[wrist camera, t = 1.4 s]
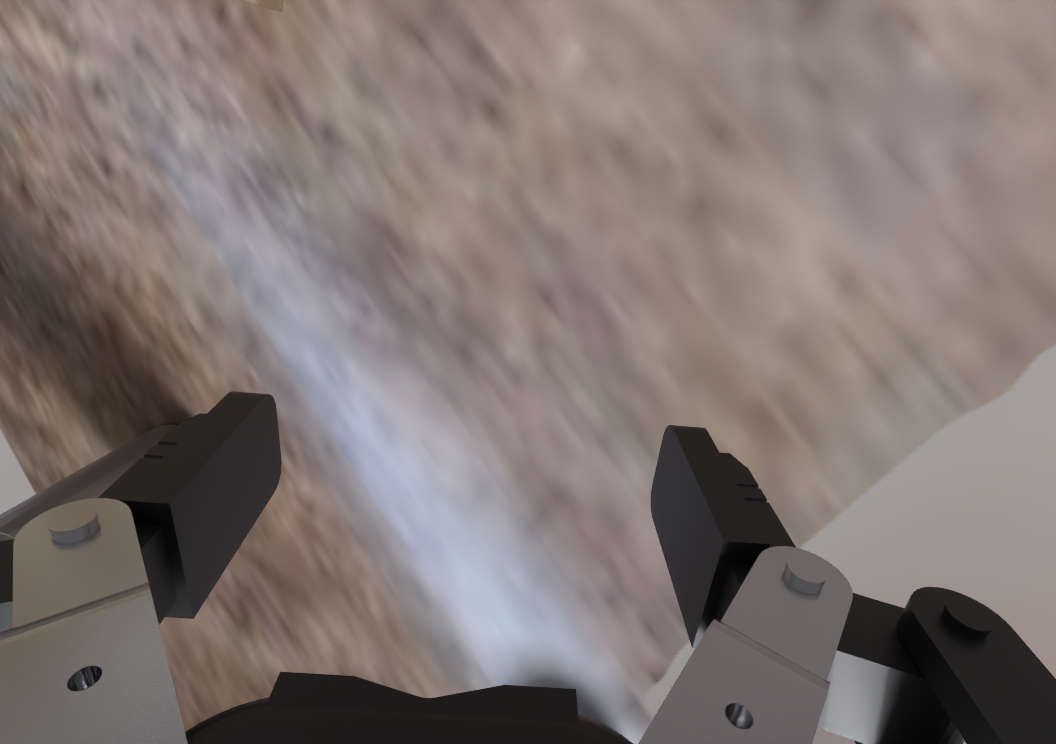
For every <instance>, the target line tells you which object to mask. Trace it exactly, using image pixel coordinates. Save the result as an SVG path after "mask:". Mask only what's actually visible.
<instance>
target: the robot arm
mask: <svg viewBox="0 0 1056 744" xmlns="http://www.w3.org/2000/svg"><path fill="white" fill-rule="evenodd" d="M280 474H281V451H280V441H279V431H278V422H277V412H276V404H275V400H274V398H273V397H272V396H271V395H269V394H258V393H245V392H229V393H228V394H227V395H226V396H225V397H224V398H223V399H222V400H221V401H220V402H219V403H218V404H217V405H216V406H215V407H214V408H213V409H212V410H210V411H209V412H208V413H207V414H198V415H196V416H194V417H192V418H190V419H188V420H186V421H184V422H182V423H180V424H178V425H172V424H169V425H161V426H158V427H156V428H153V429H151V430H150V431H148V432H146V433H144V434H142V435H141V436H139V437H137V438H135V439H134V440H132V441H130V442H128V443H126V444H125V445H123V446H121V447H119V448H118V449H116V450H114V451H112V452H110V453H108V454H107V455H105V456H103V457H101V458H100V459H98V460H96V461H94V462H93V463H91V464H89V465H87V466H85V467H84V468H82V469H80V470H78V471H77V472H75V473H73V474H71V475H70V476H68V477H66V478H64V479H63V480H61V481H59V482H57V483H55V484H54V485H52V486H50V487H48V488H47V489H45V490H43V491H41V492H40V493H38V494H36V495H34V496H33V497H31V498H29V499H27V500H26V501H24V502H22V503H20V504H18V505H17V506H15V507H13V508H11V509H10V510H8V511H6V512H4V513H3V514H1V515H0V744H633V743H632V742H630V741H629V740H628V739H626V738H625V737H624V736H622V735H621V734H619V733H617V732H616V731H614V730H612V729H611V728H609V727H607V726H606V725H603V724H601V723H599V722H597V721H595V720H592V719H590V718H587V717H584V716H581V715H578V710H577V698H576V689H563V688H546V687H529V686H512V685H502V686H496V687H491V688H485V689H480V690H475V691H469V692H464V693H458V694H453V695H447V696H442V697H436V698H422V697H418V696H415V695H412V694H408V693H405V692H402V691H399V690H396V689H393V688H390V687H386V686H383V685H380V684H377V683H374V682H371V681H368V680H364V679H361V678H358V677H355V676H342V675H325V674H308V673H291V672H280V674H279V676H278V678H277V681H276V683H275V685H274V688H273V690H272V693H271V695H270V697H269V698H264V699H259V700H256V701H252V702H249V703H246V704H242V705H239V706H236V707H234V708H231V709H229V710H226V711H224V712H221V713H219V714H217V715H215V716H213V717H211V718H209V719H207V720H205V721H203V722H201V723H199V724H197V725H196V726H194V727H193V728H191V729H189V730H188V731H186V732H185V730H184V726H183V722H182V718H181V714H180V710H179V706H178V702H177V698H176V693H175V689H174V685H173V681H172V677H171V673H170V669H169V665H168V660H167V656H166V652H165V648H164V644H163V640H162V636H161V632H160V627H159V624H160V623H161V622H162V620H163V619H164V617H174V618H190V619H194V617H195V615H196V614H197V612H198V611H199V609H200V608H201V606H202V604H203V603H204V601H205V600H206V598H207V597H208V595H209V594H210V592H211V590H212V589H213V587H214V586H215V584H216V583H217V581H218V579H219V578H220V576H221V575H222V573H223V572H224V570H225V569H226V567H227V565H228V564H229V562H230V561H231V559H232V558H233V556H234V554H235V553H236V551H237V550H238V548H239V547H240V545H241V543H242V542H243V540H244V539H245V537H246V536H247V534H248V533H249V531H250V529H251V528H252V526H253V525H254V523H255V522H256V520H257V518H258V517H259V515H260V514H261V512H262V511H263V509H264V508H265V506H266V504H267V503H268V501H269V500H270V498H271V497H272V495H273V493H274V492H275V490H276V488H277V485H278V482H279V479H280ZM651 513H652V518H653V521H654V524H655V528H656V531H657V534H658V537H659V541H660V544H661V547H662V551H663V554H664V557H665V560H666V564H667V567H668V570H669V573H670V577H671V580H672V583H673V587H674V590H675V593H676V596H677V600H678V603H679V606H680V610H681V613H682V616H683V619H684V623H685V626H686V629H687V632H688V636H689V639H690V642H691V645H692V648H696V649H695V650H694V652H693V654H692V655H691V657H690V659H689V660H688V662H687V664H686V665H685V667H684V669H683V670H682V672H681V674H680V675H679V677H678V679H677V680H676V682H675V684H674V685H673V687H672V689H671V690H670V692H669V694H668V695H667V697H666V699H665V700H664V702H663V704H662V705H661V707H660V709H659V710H658V712H657V714H656V715H655V717H654V719H653V720H652V722H651V724H650V725H649V727H648V728H647V730H646V732H645V733H644V735H643V737H642V738H641V740H640V742H639V743H638V744H812V742H813V739H814V736H815V732H816V729H817V727H818V728H821V729H824V730H827V731H829V732H832V733H835V734H838V735H841V736H843V737H846V738H849V739H852V740H854V741H855V743H856V744H963V742H964V741H965V742H966V743H967V744H1056V679H1055V678H1054V677H1053V675H1052V674H1051V673H1050V672H1049V671H1048V669H1046V667H1045V666H1044V665H1043V664H1042V663H1041V661H1040V660H1039V659H1038V658H1037V657H1036V655H1035V654H1034V653H1033V652H1032V651H1031V650H1030V648H1029V647H1028V646H1027V645H1026V644H1025V643H1024V642H1023V640H1022V639H1021V638H1020V637H1019V636H1018V635H1017V633H1016V632H1015V631H1014V630H1013V629H1012V628H1011V626H1009V624H1008V623H1007V622H1006V621H1004V620H1003V619H1002V618H1001V617H1000V616H999V615H998V614H996V613H995V612H993V611H992V610H991V609H989V608H988V607H986V606H985V605H983V604H981V603H979V602H978V601H976V600H974V599H972V598H970V597H967V596H965V595H963V594H960V593H958V592H955V591H952V590H948V589H944V588H938V587H924V588H920V589H917V590H916V591H915V592H913V594H912V595H911V597H910V599H909V601H908V603H907V605H906V607H905V608H901V607H898V606H895V605H891V604H888V603H884V602H881V601H878V600H874V599H871V598H868V597H864V596H861V595H858V594H855V593H852V589H851V586H850V584H849V582H848V581H847V579H846V578H845V577H844V575H843V574H842V573H841V572H840V571H839V570H838V569H837V568H836V567H834V566H833V565H832V564H830V563H829V562H828V561H826V560H824V559H823V558H821V557H819V556H817V555H815V554H813V553H811V552H808V551H806V550H802V549H799V548H796V547H795V545H794V543H793V542H792V540H791V538H790V537H789V535H788V533H787V532H786V530H785V529H784V527H783V525H782V524H781V522H780V520H779V519H778V517H777V515H776V514H775V512H774V510H773V509H772V507H771V505H770V504H769V503H767V499H766V497H765V496H764V494H763V492H762V491H761V489H758V484H757V482H756V481H755V479H754V477H753V476H752V474H751V472H750V471H749V469H748V468H747V467H746V466H744V465H743V464H742V463H741V462H739V461H738V460H737V459H736V458H735V457H733V456H732V455H731V454H730V453H719V451H718V449H717V447H716V446H715V444H714V442H713V440H712V438H711V437H710V435H709V433H708V431H707V430H706V429H705V428H699V427H687V426H674V425H669V426H667V428H666V429H665V432H664V435H663V439H662V444H661V448H660V453H659V457H658V462H657V466H656V471H655V476H654V480H653V485H652V490H651Z"/></svg>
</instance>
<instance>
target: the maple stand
mask: <svg viewBox="0 0 1056 744" xmlns="http://www.w3.org/2000/svg"><path fill="white" fill-rule="evenodd" d="M245 1H248V2H251V3H254V4H257V5H260V6H264V7H267V8H270V9H273V10H276V11H279V12H281V11H282V3H283V0H245Z"/></svg>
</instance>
